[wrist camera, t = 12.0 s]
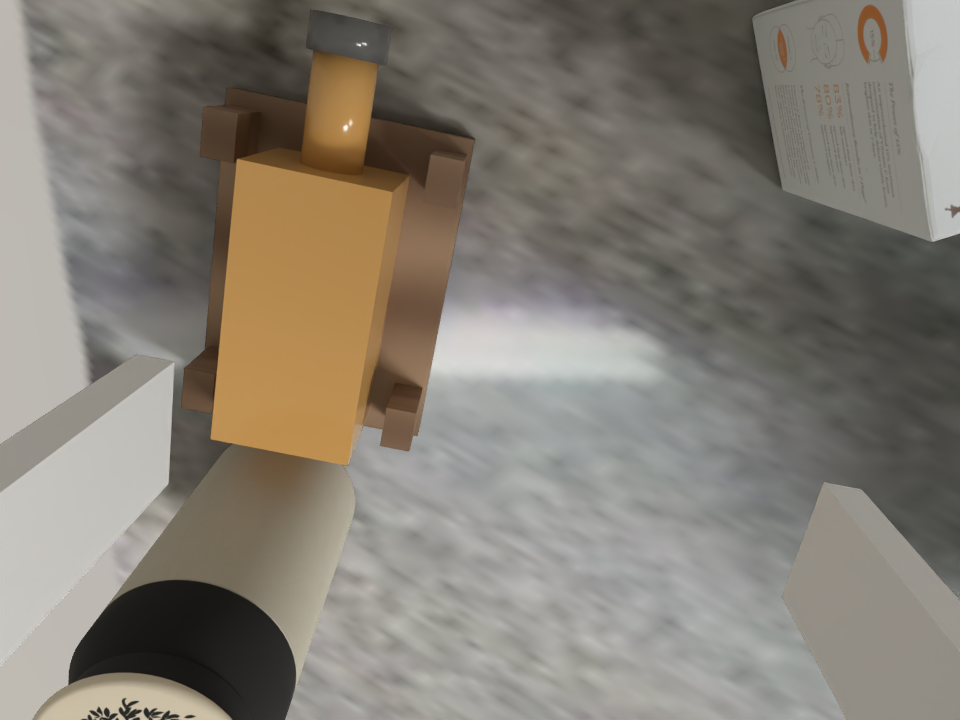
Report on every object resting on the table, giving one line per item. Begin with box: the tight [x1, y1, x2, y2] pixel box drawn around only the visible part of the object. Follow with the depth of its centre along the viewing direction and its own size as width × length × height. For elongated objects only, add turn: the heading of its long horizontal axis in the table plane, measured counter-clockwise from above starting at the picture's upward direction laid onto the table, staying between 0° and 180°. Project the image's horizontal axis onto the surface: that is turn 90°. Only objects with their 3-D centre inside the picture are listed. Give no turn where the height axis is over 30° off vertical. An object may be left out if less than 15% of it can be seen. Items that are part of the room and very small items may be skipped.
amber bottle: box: [211, 10, 410, 466], centre depth 33 cm, size 18×6×6 cm, turn 168°
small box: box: [752, 0, 960, 242], centre depth 28 cm, size 8×6×13 cm
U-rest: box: [181, 88, 475, 451], centre depth 35 cm, size 15×11×4 cm
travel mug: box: [33, 444, 355, 720], centre depth 33 cm, size 8×8×18 cm
